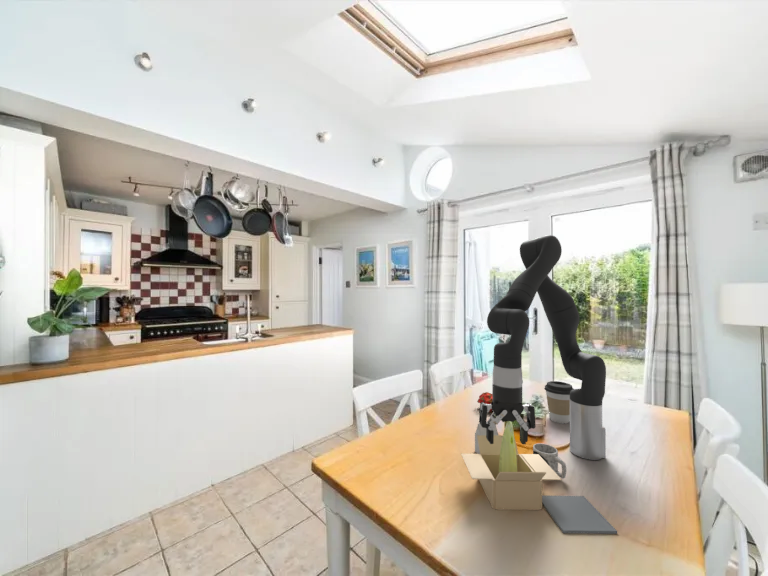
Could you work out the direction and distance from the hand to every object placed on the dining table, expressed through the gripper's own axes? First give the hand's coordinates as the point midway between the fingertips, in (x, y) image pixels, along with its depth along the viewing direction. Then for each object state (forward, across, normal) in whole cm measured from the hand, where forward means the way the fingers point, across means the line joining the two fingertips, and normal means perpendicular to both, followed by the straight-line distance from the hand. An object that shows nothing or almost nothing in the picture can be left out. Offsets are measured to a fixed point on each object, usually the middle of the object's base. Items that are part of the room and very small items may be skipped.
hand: (506, 442), depth 84 cm
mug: (+13, -16, -9) cm, 23 cm away
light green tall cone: (+13, 0, 0) cm, 13 cm away
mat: (+13, -13, +8) cm, 20 cm away
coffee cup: (+13, -40, -48) cm, 64 cm away
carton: (+13, 0, 0) cm, 13 cm away
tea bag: (+13, -1, -21) cm, 25 cm away
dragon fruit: (+13, -14, -58) cm, 61 cm away
